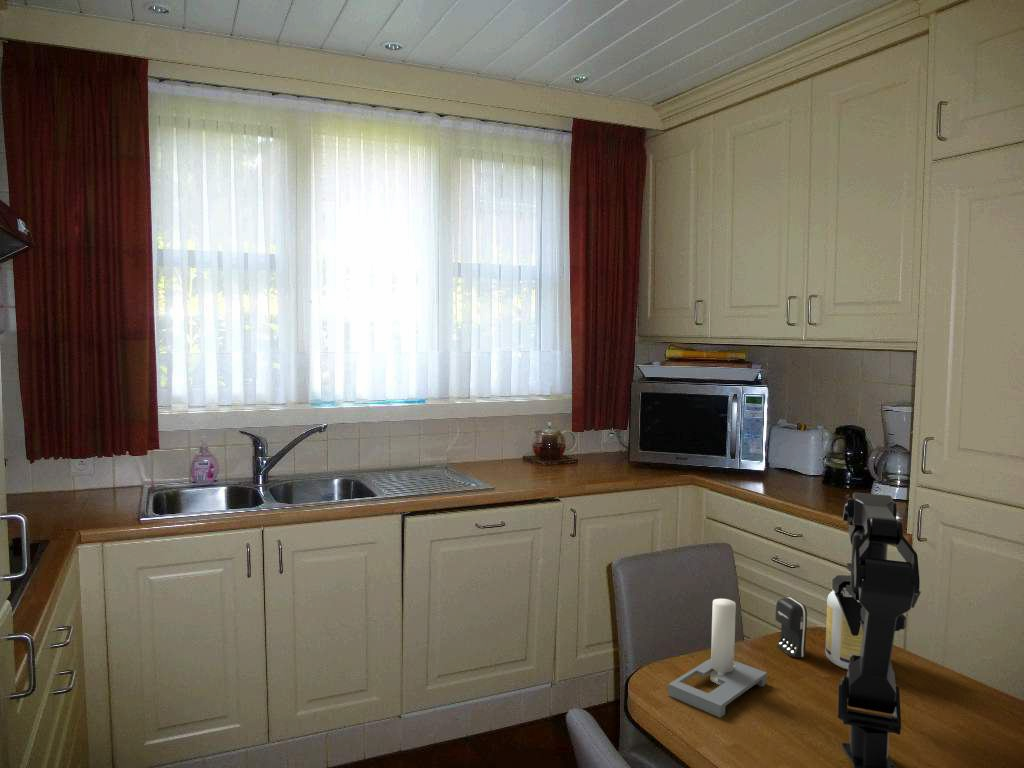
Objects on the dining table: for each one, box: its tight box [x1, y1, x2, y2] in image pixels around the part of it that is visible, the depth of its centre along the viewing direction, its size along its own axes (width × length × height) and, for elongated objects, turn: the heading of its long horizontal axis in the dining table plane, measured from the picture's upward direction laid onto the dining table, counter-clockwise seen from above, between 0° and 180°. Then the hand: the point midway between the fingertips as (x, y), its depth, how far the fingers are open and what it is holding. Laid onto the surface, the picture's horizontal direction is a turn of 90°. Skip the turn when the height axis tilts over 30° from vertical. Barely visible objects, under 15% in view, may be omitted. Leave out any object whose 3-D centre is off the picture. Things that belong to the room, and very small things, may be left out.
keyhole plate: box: [667, 657, 768, 719], centre depth 144 cm, size 18×11×2 cm, turn 135°
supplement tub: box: [824, 588, 863, 671], centre depth 155 cm, size 12×12×17 cm
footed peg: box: [709, 598, 737, 686], centre depth 147 cm, size 4×4×16 cm
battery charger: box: [775, 596, 808, 658], centre depth 160 cm, size 7×4×11 cm, turn 13°
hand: (864, 646), depth 134 cm, fingers open, 9 cm apart
